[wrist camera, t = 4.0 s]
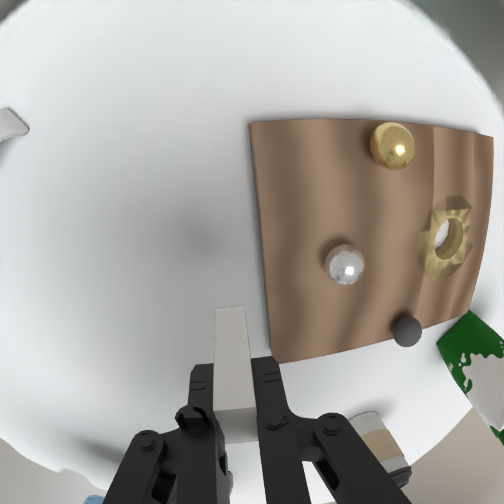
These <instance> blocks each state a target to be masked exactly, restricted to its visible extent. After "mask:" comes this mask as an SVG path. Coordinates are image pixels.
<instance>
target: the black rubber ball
mask: <svg viewBox="0 0 504 504" xmlns="http://www.w3.org/2000/svg"><path fill="white" fill-rule="evenodd" d="M421 334H422V327H421V324H420V322H419V321H418V320H417V319H416V318H414V317H404V318H402V319H400V320H399V321H398V322H397V323H396V325H395V327H394V330H393V336H394V339H395V341H396V342H397V344H399V345H400V346H403V347H410V346H413V345H415V344H416V343H417V342H418V341H419V339H420V337H421Z"/></svg>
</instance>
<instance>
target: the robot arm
mask: <svg viewBox="0 0 504 504" xmlns="http://www.w3.org/2000/svg"><path fill="white" fill-rule="evenodd" d="M175 420H176V422H177V423H178V425H179V428H177V429H176V430H173V431H170V432H166V433H163V434H159V433H157V432H155V431H153V430H145V431H141V432H139V433H138V434H136V435H135V437H134V438H133V439H132V441H131V443H130V445H129V448H128V450H127V452H126V454H125V456H124V458H123V460H122V462H121V464H120V466H119V468H118V471H117V473H116V475H115V477H114V479H113V481H112V483H111V485H110V488H109V490H108V492H107V494H106V496H105V497H101V496H98V495H90V496H88V497H87V498H86V500H85V501H84V504H230V498H229V497H230V494H231V491H232V488H233V476H232V474H231V473H230V472H229V471H228V464H227V453H226V450H225V442H226V444H229V443H241V442H251V441H259V448H260V456H261V464H262V472H263V480H264V487H265V495H266V502H267V504H311V500H310V496H309V491H308V487H307V482H306V478H305V473H304V469H303V464H302V461H310V462H312V463H313V465H314V467H315V468H316V470H317V472H318V473H319V475H320V477H321V478H322V480H323V481H324V483H325V485H326V486H327V488H328V490H329V491H330V493H331V494H332V496H333V498H334V499H335V501H336V502H337V504H412V503H411V502H410V501H409V499H408V498H407V497H406V496H405V495H404V493H403V492H402V490H401V489H400V488H399V487H398V485H397V484H396V483H395V481H394V480H393V479H392V478H391V476H390V475H389V474H388V472H387V471H386V470H385V469H384V467H383V466H382V465H381V463H380V462H379V461H378V459H377V458H376V457H375V455H374V454H373V453H372V452H371V450H370V449H369V448H368V446H367V445H366V444H365V442H364V441H363V440H362V438H361V437H360V436H359V434H358V433H357V432H356V430H355V429H354V428H353V426H352V425H351V424H350V422H349V421H348V420H347V419H346V418H345V417H344V416H343V415H341V414H338V413H327V414H323V415H322V416H320V417H319V418H318V419H310V418H302V417H299V416H297V415H295V414H294V413H292V412H291V410H290V409H289V407H288V404H287V400H286V395H285V391H284V386H283V382H282V377H281V373H280V368H279V364H278V362H277V361H276V360H275V359H274V357H273V356H267V357H260V358H252V359H251V353H250V344H249V337H248V330H247V323H246V316H245V309H244V305H241V306H232V307H224V308H216V315H215V343H214V363H211V364H198V365H195V367H194V368H193V370H192V372H191V375H190V385H189V395H188V405H186V406H184V407H182V408H181V409H180V410H179V411H178V412H177V413H176V416H175Z"/></svg>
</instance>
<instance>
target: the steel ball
mask: <svg viewBox="0 0 504 504" xmlns="http://www.w3.org/2000/svg"><path fill="white" fill-rule="evenodd" d="M364 269H365V261H364V257H363V255H362V253H361V252H360V251H359V250H358V249H357V248H356V247H354V246H352V245H349V244H341V245H338V246H335V247H334V248H333V249H331V250H330V251H329V253H328V254H327V256H326V259H325V271H326V273H327V275H328V277H329V278H330V279H331V280H332V281H333V282H334V283H336V284H339V285H351V284H353V283H355V282H356V281H358V280H359V279H360V278H361V276H362V274H363V272H364Z"/></svg>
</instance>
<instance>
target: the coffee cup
mask: <svg viewBox="0 0 504 504" xmlns="http://www.w3.org/2000/svg"><path fill="white" fill-rule="evenodd" d="M348 421H349V422H350V424H351V425H352V426H353V428H354V429H355V430H356V432H357V433H358V434H359V436H360V437H361V438H362V440H363V441H364V442H365V444H366V445H367V446H368V448H369V449H370V450H371V452H372V453H373V454H374V455H375V457H376V458H377V459H378V461H379V462H380V463H381V465H382V466H383V467H384V469H385V470H386V471H387V472H388V474H389V475H390V476H391V478H392V479H393V480H394V481H395V483H396V484H397V485H398V487H399V488H402V487H403V486H405V485H406V484H407V483H408V481H409V477H410V476H411V474H412V472H411V466H409V465H408V463H407V462H406V460H405V458H404V454H403V453H402V451H401V450H400V448H399V446H398V445H397V443H396V441H395V440H394V438H393V437H392V435H391V433H390V432H389V430H387V428H386V427H385V425H384V423H383V422H382V420H381V419H380V417H379V415H378V414H377V413H376V412H365V413H362V414H359V415H357V416H355V417H353V418H351V419H349V420H348Z"/></svg>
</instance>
